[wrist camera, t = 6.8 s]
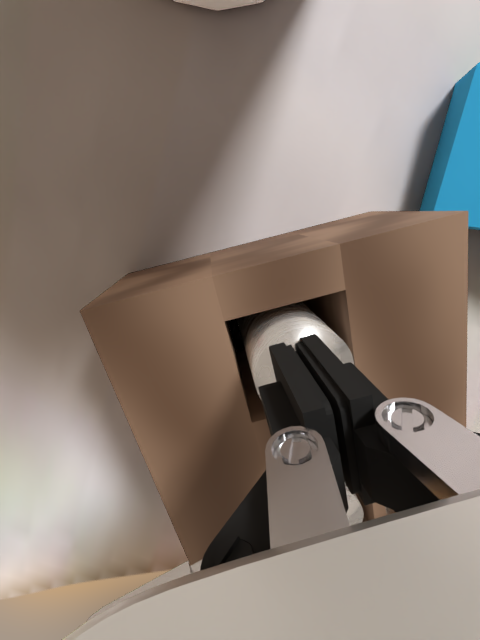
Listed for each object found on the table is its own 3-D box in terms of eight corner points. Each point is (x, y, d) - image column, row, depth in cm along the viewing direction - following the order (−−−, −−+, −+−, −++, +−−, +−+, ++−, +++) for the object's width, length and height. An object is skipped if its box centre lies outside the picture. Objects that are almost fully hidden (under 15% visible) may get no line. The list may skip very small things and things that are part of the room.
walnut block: (370, 211, 18) (468, 210, 11) (392, 447, 23) (464, 539, 17) (127, 273, 17) (79, 310, 11) (209, 496, 23) (210, 609, 17)
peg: (293, 276, 17) (348, 316, 11) (304, 335, 18) (359, 404, 12) (229, 292, 17) (244, 343, 11) (244, 351, 18) (266, 429, 12)
